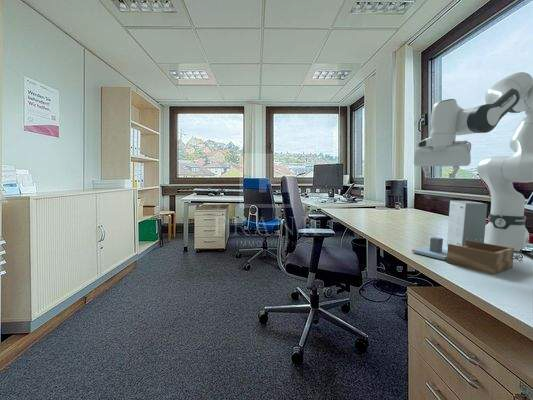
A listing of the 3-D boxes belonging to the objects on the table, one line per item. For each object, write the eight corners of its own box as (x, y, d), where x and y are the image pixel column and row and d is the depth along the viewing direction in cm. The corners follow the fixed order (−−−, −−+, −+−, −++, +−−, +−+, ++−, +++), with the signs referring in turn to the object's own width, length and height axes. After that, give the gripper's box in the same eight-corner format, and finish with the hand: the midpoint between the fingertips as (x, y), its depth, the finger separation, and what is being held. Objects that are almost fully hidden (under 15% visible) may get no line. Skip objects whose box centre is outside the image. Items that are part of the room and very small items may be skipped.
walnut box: (465, 257, 111) (467, 240, 111) (512, 267, 99) (514, 248, 99) (446, 262, 104) (448, 244, 103) (494, 274, 92) (496, 253, 91)
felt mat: (430, 250, 121) (430, 249, 121) (456, 256, 112) (456, 255, 112) (416, 253, 115) (416, 252, 115) (442, 259, 107) (442, 258, 107)
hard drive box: (483, 256, 113) (488, 203, 111) (461, 254, 115) (465, 203, 113) (465, 246, 128) (469, 200, 127) (445, 245, 130) (449, 199, 128)
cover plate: (427, 248, 122) (428, 233, 121) (460, 255, 112) (461, 239, 111) (411, 251, 116) (412, 236, 115) (444, 259, 105) (446, 243, 105)
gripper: (475, 140, 110) (472, 178, 111) (421, 144, 127) (419, 177, 128) (467, 139, 106) (464, 178, 108) (412, 143, 123) (410, 177, 125)
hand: (439, 177), depth 118 cm, fingers open, 8 cm apart
